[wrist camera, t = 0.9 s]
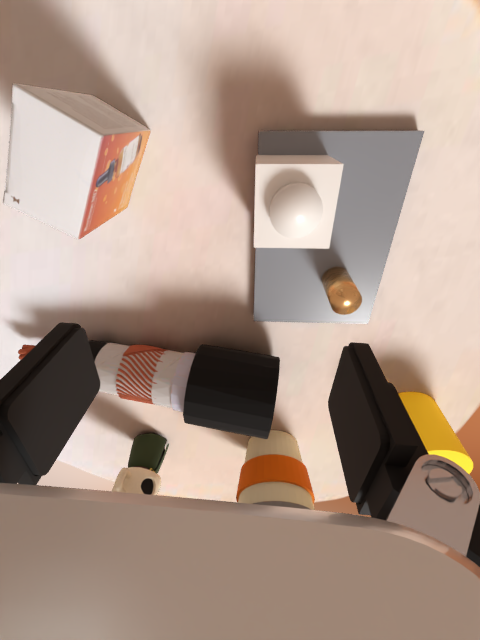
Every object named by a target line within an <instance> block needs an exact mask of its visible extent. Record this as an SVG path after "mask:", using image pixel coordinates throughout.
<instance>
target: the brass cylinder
mask: <svg viewBox="0 0 480 640" xmlns="http://www.w3.org/2000/svg"><path fill="white" fill-rule="evenodd" d="M322 285H323V287H324V290H325V292H326V295H327V298H328V300H329V303H330V305H331V308H332V310H333V311H334V312H335V313H337V314H341V315H347V314H351V313H353V312H355V311H356V310H357V309H358V308H359V307H360V305H361V303H362V296H361V294H360V292H359V290H358V289H357V287H356V285H355V283H354V282H353V280H352V278H351V276H350V275H349V273H348V271H347V270H346V269H345V268H343V267H332V268H330V269H328V270H327V271H326V272H325V273H324V274H323V276H322Z"/></svg>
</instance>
